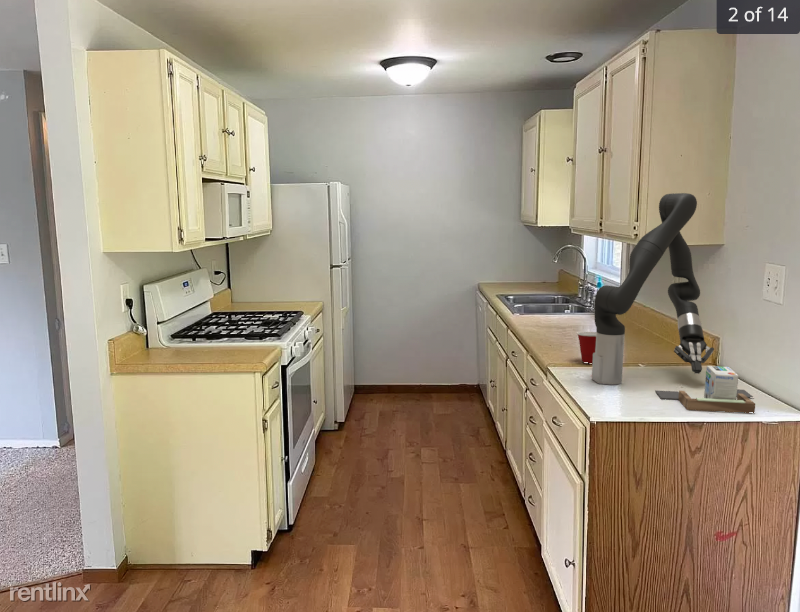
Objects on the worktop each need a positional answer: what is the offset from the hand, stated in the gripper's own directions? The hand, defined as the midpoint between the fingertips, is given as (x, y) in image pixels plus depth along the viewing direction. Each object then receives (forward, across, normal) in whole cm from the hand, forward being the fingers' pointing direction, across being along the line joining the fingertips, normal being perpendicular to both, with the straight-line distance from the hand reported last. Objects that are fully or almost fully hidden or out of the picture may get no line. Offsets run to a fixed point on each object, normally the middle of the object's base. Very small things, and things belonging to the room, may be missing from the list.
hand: (697, 372), depth 204 cm
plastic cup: (-16, -31, +24) cm, 43 cm away
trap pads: (+10, 0, -2) cm, 10 cm away
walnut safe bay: (+18, 0, -10) cm, 20 cm away
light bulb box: (+16, +2, -8) cm, 18 cm away
